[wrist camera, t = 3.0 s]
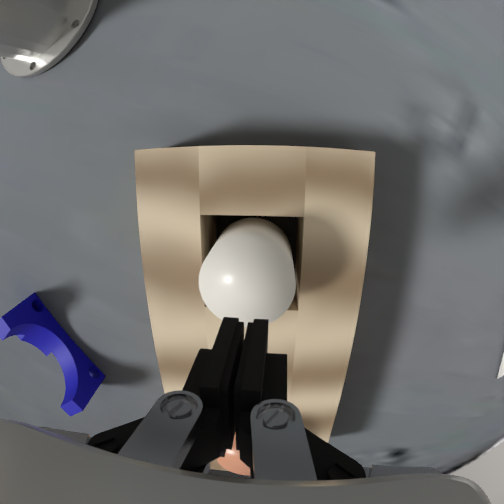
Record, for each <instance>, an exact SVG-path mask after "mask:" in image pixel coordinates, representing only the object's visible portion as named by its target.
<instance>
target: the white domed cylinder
mask: <svg viewBox="0 0 504 504" xmlns="http://www.w3.org/2000/svg"><path fill="white" fill-rule="evenodd" d="M295 289H296V280H295V272H294V265H293V257H292V250H291V245H290V242H289V240H288V238H287V236H286V235H285V233H284V232H283V231H282V230H281V229H280V228H279V227H278V226H277V225H275V224H274V223H272V222H270V221H268V220H265V219H261V218H244V219H241V220H238V221H236V222H234V223H232V224H230V225H229V226H228V227H227V228H226V229H225V230H224V231H223V232H222V234H221V235H220V237H219V238H218V240H217V241H216V243H215V244H214V246H213V248H212V249H211V251H210V252H209V254H208V255H207V257H206V259H205V260H204V262H203V264H202V266H201V269H200V272H199V290H200V293H201V296H202V299H203V301H204V303H205V304H206V306H207V307H208V308H209V310H210V311H211V312H212V313H213V314H214V315H216V316H217V317H218V318H220V319H221V320H223V318H224V317H233V318H239V322H244V327H247V325H248V322H253V321H254V319H269V323H271V322H273V321H275V320H276V319H278V318H279V317H281V316H282V315H283V314H284V313H285V312H286V310H287V309H288V308H289V306H290V305H291V303H292V301H293V298H294V295H295Z"/></svg>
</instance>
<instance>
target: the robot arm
mask: <svg viewBox="0 0 504 504" xmlns="http://www.w3.org/2000/svg"><path fill="white" fill-rule="evenodd" d="M97 2H98V0H0V57H1V60H2V64H3V66H4V68H5V69H6V70H7V71H8V72H9V73H10V74H12V75H15V76H20V77H32V76H35V75H38V74H41V73H43V72H44V71H46V70H48V69H50V68H51V67H52V66H54V65H55V64H56V63H58V62H59V61H60V60H61V59H62V58H63V57H64V56H65V55H66V54H67V53H68V52H69V51H70V50H71V49H72V47H73V46H74V45H75V44H76V43H77V41H78V40H79V38H80V37H81V36H82V34H83V33H84V31H85V30H86V28H87V26H88V24H89V22H90V21H91V19H92V16H93V14H94V12H95V9H96V6H97ZM268 324H269V319H254V321H253V322H248V325H247V330H246V334H245V339H244V322H239V318H233V317H224V318H223V320H222V323H221V326H220V328H219V331H218V334H217V337H216V339H215V342H214V345H213V348H212V349H203V348H201V349H200V350H199V351H198V354H197V356H196V358H195V361H194V363H193V366H192V368H191V370H190V373H189V375H188V378H187V380H186V382H185V385H184V387H183V390H179V391H172V392H168V393H166V394H164V395H162V396H161V397H160V398H159V399H158V400H157V401H156V403H155V404H154V405H153V407H152V408H151V409H150V411H149V412H148V414H147V415H146V416H145V417H144V418H141V419H138V420H136V421H133V422H130V423H127V424H124V425H122V426H119V427H116V428H113V429H110V430H107V431H104V432H101V433H99V434H97V435H94V436H93V437H90V436H89V434H86V433H78V432H71V431H65V430H59V429H53V428H47V427H37V426H33V425H30V424H27V423H23V422H18V421H13V420H4V419H0V504H491V503H490V501H489V499H488V497H487V495H486V494H485V493H484V491H483V490H482V489H481V488H480V487H479V485H477V484H476V483H475V482H473V481H471V480H469V479H467V478H463V477H459V476H454V475H446V474H442V473H441V472H440V471H439V470H437V469H435V468H432V467H405V466H384V465H372V466H371V468H369V467H362V465H360V464H359V463H358V462H357V461H355V460H354V459H352V458H350V457H349V456H347V455H346V454H344V453H342V452H341V451H339V450H338V449H336V448H335V447H333V446H332V445H330V444H329V443H327V442H326V441H324V440H322V439H321V438H319V437H318V436H317V435H315V434H314V433H312V432H311V431H309V430H308V429H306V428H305V427H304V424H303V420H302V416H301V413H300V411H299V409H298V408H297V407H296V406H295V405H294V404H292V403H290V402H289V401H287V354H276V353H267V350H268ZM235 435H236V450H239V452H240V460H241V461H242V462H243V463H245V464H246V465H247V466H248V467H249V468H250V479H248V478H237V477H227V476H219V475H212V474H208V472H209V470H210V468H211V461H213V460H215V459H217V458H219V457H225V452H226V449H230V450H231V449H232V446H233V441H234V436H235Z"/></svg>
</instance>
